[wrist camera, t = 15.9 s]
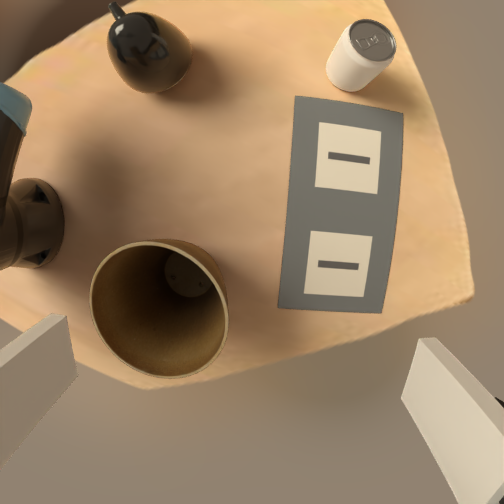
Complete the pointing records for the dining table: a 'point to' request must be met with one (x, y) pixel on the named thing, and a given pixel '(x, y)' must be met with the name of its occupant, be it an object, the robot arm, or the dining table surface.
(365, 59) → the can
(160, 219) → the dining table surface
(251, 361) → the dining table surface
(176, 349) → the plant pot
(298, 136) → the label panel
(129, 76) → the pump dispenser
